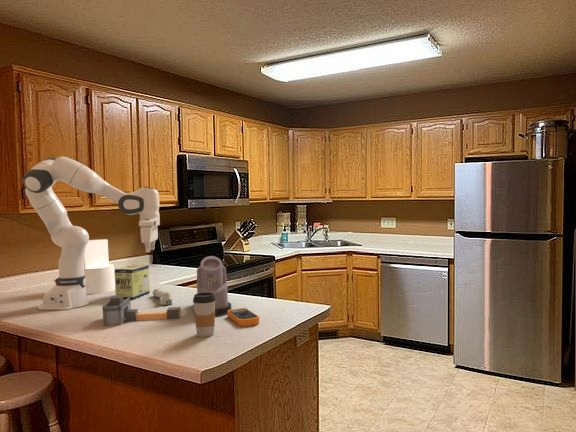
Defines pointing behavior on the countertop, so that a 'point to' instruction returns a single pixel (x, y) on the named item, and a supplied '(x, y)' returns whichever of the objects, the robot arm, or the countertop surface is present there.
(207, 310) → the coffee cup
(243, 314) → the multimeter
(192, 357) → the countertop surface
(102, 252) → the cylinder
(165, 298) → the toothbrush head
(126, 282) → the protein box
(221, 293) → the juicer
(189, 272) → the countertop surface
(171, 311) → the wooden and grey bar
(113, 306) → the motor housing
